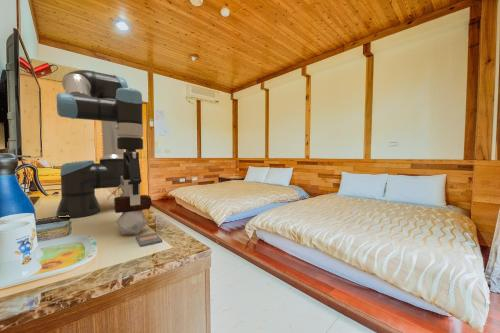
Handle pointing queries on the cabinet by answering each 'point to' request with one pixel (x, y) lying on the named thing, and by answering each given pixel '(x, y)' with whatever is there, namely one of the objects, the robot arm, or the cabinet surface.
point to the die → (131, 222)
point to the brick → (124, 204)
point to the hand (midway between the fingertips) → (131, 201)
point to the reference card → (148, 239)
